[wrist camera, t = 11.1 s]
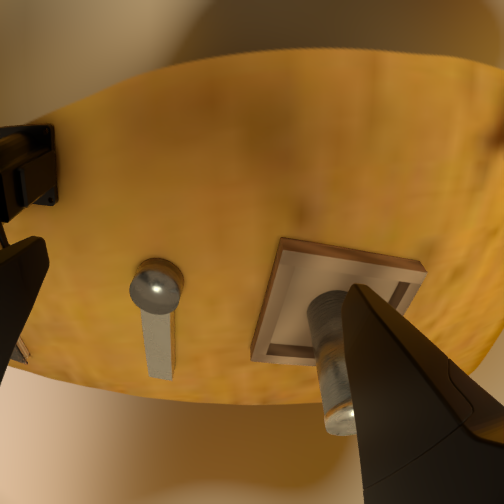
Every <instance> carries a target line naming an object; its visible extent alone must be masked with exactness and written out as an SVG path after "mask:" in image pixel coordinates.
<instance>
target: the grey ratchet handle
mask: <svg viewBox="0 0 504 504" xmlns="http://www.w3.org/2000/svg"><path fill="white" fill-rule="evenodd" d="M183 285H184V279H183V275H182V273H181V271H180V270H179V269H178V268H177V267H176V266H175V265H174V264H173V263H171V262H169V261H167V260H164V259H159V258H153V259H148V260H146V261H144V262H143V263H142V264H141V265H140V266H139V268H138V270H137V272H136V274H135V276H134V278H133V281H132V283H131V285H130V289H129V291H130V296H131V298H132V300H133V302H134V303H135V304H136V305H137V306H138V307H139V308H141V318H142V327H143V336H144V344H145V351H146V359H147V366H148V372H149V377H154V378H159V379H165V380H171V381H172V379H173V374H174V369H175V330H174V310H175V309H176V308H177V306H178V303H179V300H180V296H181V292H182V288H183Z"/></svg>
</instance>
